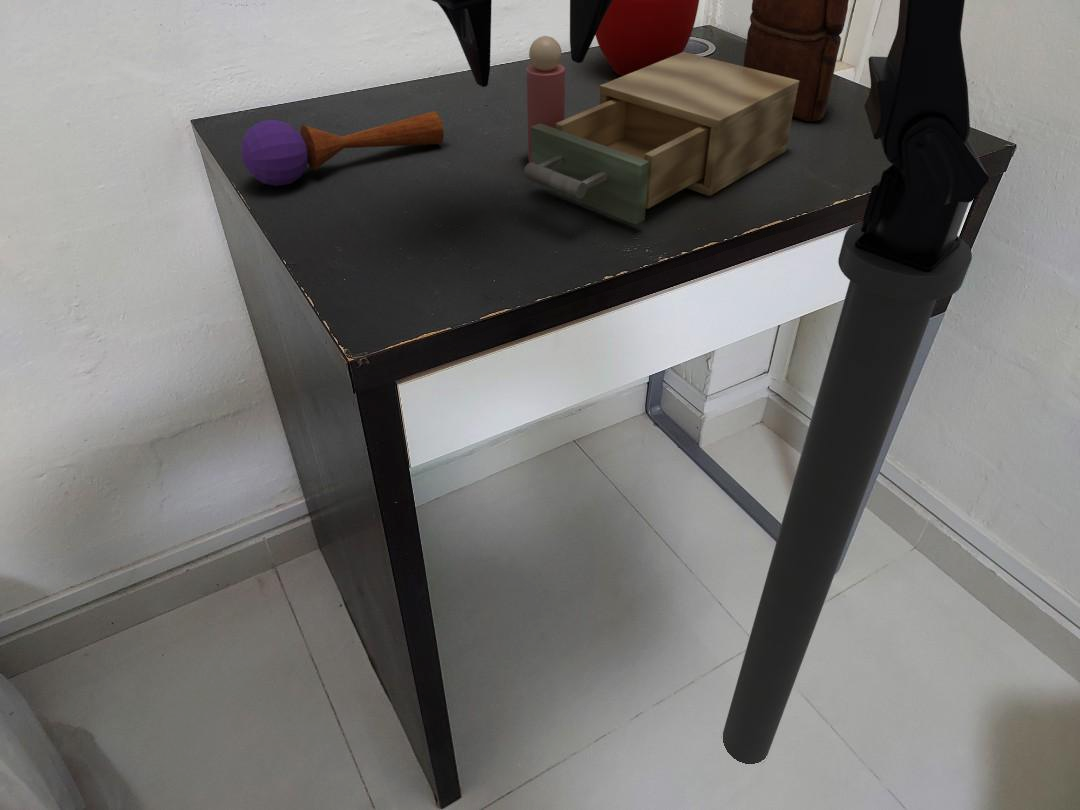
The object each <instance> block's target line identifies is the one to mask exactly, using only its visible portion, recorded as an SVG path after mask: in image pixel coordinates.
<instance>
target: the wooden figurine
mask: <svg viewBox="0 0 1080 810" xmlns="http://www.w3.org/2000/svg"><path fill="white" fill-rule="evenodd" d="M849 2H850V0H752V2H751V14H750V15H749V21H750V25H749V27H748V29H747V35H746V36H747V37H746V44H745V49H744V55H743V67H747V68H751V69H755V70H759V71H763V72H767V73H771V74H775V75H779V76H783V77H787V78H791V79H795V80H799V85H798V89H797V95H796V100H795V105H794V110H793V115H792V118H796V119H799V120H802V121H805V122H819V121H821V120H822V119H823V118H824V116H825V114H826V111H827V107H828V103H829V98H830V93H831V90H832V89H831V88H832V83H833V78H834V74H835V70H836V63H837V60H838V54H839V51H840V46H841V44H842V43H841V42H842V37H841V34H842V33H843V31H844V28H845V23H846V20H847V19H846V18H847V14H848V10H849Z"/></svg>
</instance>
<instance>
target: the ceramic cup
mask: <svg viewBox="0 0 1080 810" xmlns="http://www.w3.org/2000/svg"><path fill="white" fill-rule="evenodd" d="M699 3H700V0H613V1H612V3H611V4H610V6H609V8H608V10H607V12H606V14H605V16H604V18H603V20H602V22H601V24H600V26H599V28H598V30H597V32H596V35H595V38H596V39H595V40H596V42H597V43H598V47H599V49H600V51H601V53H602V55H603V56H604V57H605V59H606V60H607V62H608V64H609V65H610V66H611V67H612V68H613V71H614V72H615V73H616V74H617V75H620V76H621V77H622V76H625V75H627V74H630V73H632V72H635V71H637V70H640V69H642V68H645V67H647V66H650V65H652V64H655V63H657V62H660V61H662V60H665V59H667V58H670V57H672V56H675V55H677V54H679V53H682V52H684V50H685V49H686V47H687V45H688V43H689V41H690V38H691V35H692V33H693V30H694V27H695V22H696V19H697V14H698V9H699Z"/></svg>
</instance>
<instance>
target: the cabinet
mask: <svg viewBox="0 0 1080 810" xmlns="http://www.w3.org/2000/svg"><path fill="white" fill-rule="evenodd" d="M743 66H744V65H743ZM743 66H742V65H740V64H739V65H738V64H735V63H730V62H727V61H722V60H718V59H715V58H710V57H706V56H703V55H702V56H701V55H699V54H693V53H691V52H686V51H683V52H682V53H679V54H677V55H675V56H672V57H670V58H667V59H665V60H662V61H660V62H657V63H655V64H652V65H650V66H647V67H645V68H642V69H640V70H637V71H635V72H632V73H630V74H627V75H625V76H622V75H621V76H620V77H618V78H615V79H612V80H610V81H607V82H605V83H602V84H600V85H599V105H600V104H603V103H605V102H607V101H610V100H612V99H614V98H616V99H620V100H623V101H626V102H630V103H633V104H636V105H639V106H643V107H646V108H649V109H653V110H656V111H659V112H662V113H666V114H669V115H672V116H676V117H679V118H682V119H686V120H689V121H692V122H695V123H699V124H702V125H705V126H709V127H711V132H710V140H709V147H708V155H707V163H706V171H705V177H704V178H702V179H700V180H698V181H697V182H695V183H693V184H691V185H690V186H688V187H686V188H685V189H688V190H690V191H693V192H696V193H699V194H701V195H703V196H704V195H705V196H707V197H711V196H713V195H714V194H716V193H718V192H719V191H721V190H723V189H725V188H727V187H728V186H730V185H731V184H733V183H735V182H736V181H738V180H740V179H741V178H743V177H745V176H747V175H748V174H750V173H751V172H754V171H755V170H756V169H759V168H761V167H763V166H764V165H765V164H768V163H769V162H770V161H772V160H774V159H775V158H777V157H779V156H781V155H783V154H784V153H786V151H787V146H788V145H787V144H788V140H789V135H790V130H791V126H792V121H793V116H792V115H793V110H794V105H795V100H796V95H797V89H798V85H799V80H795V79H791V78H787V77H783V76H779V75H775V74H771V73H767V72H763V71H759V70H755V69H751V68H747V67H743Z"/></svg>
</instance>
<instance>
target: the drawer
mask: <svg viewBox="0 0 1080 810" xmlns="http://www.w3.org/2000/svg"><path fill="white" fill-rule="evenodd" d="M710 132H711V127H709V126H705V125H702V124H699V123H695V122H692V121H689V120H686V119H682V118H679V117H676V116H672V115H669V114H666V113H662V112H659V111H656V110H653V109H649V108H646V107H643V106H639V105H636V104H633V103H630V102H626V101H623V100H620V99H616V98H614V99H612V100H610V101H607V102H605V103H603V104H600V103H599V104H598V105H595V106H593V107H591V108H588V109H587V110H586V109H585V110H584V111H581V112H579V113H577V114H574V115H572V116H570V117H568V118H565V120H562V121H560V122H558V123H556V129H555V128H552V127H549V126H546V125H543V124H540V123H539V124H537V125H534V126H532V127H531V159H532V162H530V163H529V162H528V163H527V164H526V165H525V167H524V169H523V175H524V177H525V178H526V179H528V180H530V181H531V183H532V184H534V185H537V186H540V187H542V188H544V189H546V190H549V191H552V192H554V193H556V194H558V195H562V196H564V197H566V198H569V199H572V200H574V201H577V202H579V203H581V204H584V205H586V206H589V207H591V208H594V209H596V210H598V211H601V212H603V213H605V214H608V215H610V216H614V217H616V218H618V219H620V220H623V221H626V222H628V223H631V224H633V225H635V226H637V225H639V224H641V223H642V222H644V221H646V220H645V219H646V209H648V210H649V209H650V208H652V207H654V206H656V205H657V204H659V203H662V202H663V201H664V200H666V199H668V198H670V197H672V196H675V194H677V193H679V192H680V191H682V190H684V189H687V188H686V187H688V186H690V185H691V184H693V183H695V182H697V181H698V180H700V179H702V178H704V177H705V171H706V163H707V155H708V147H709V140H710Z"/></svg>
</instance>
